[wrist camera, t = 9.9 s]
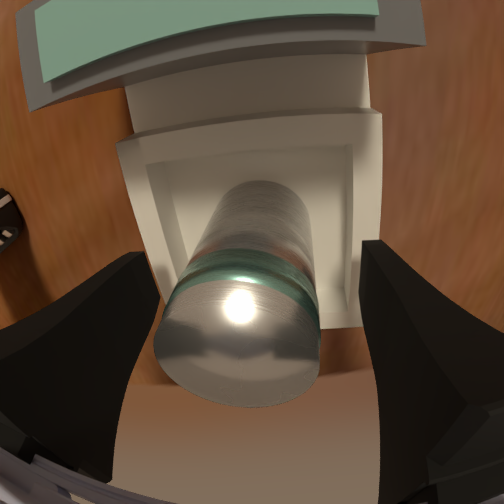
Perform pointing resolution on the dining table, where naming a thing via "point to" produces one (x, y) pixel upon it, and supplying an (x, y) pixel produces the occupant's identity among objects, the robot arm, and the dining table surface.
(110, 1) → the charging station
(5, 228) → the battery charger
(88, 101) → the dining table surface
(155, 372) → the dining table surface
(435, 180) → the dining table surface
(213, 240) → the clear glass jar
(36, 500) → the robot arm
